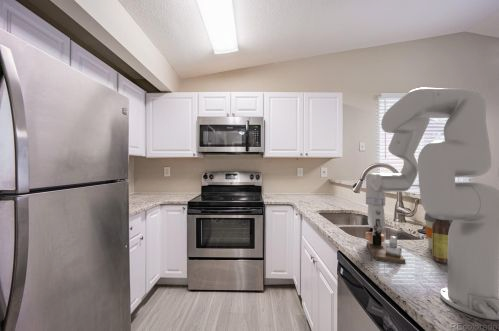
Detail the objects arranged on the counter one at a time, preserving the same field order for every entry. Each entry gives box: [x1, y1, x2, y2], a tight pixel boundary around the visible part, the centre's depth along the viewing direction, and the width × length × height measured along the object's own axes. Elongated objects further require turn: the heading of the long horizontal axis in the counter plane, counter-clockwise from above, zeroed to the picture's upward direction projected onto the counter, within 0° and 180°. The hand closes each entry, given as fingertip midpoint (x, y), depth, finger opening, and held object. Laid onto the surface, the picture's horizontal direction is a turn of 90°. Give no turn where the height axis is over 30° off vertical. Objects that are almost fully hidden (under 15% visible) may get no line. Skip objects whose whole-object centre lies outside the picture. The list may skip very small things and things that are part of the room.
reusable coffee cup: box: [423, 212, 453, 250], centre depth 99 cm, size 13×13×15 cm
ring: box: [365, 231, 385, 243], centre depth 100 cm, size 7×7×2 cm
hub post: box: [369, 230, 383, 246], centre depth 100 cm, size 5×5×6 cm
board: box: [366, 240, 406, 264], centre depth 94 cm, size 18×10×2 cm, turn 163°
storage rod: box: [386, 235, 402, 258], centre depth 88 cm, size 5×5×7 cm
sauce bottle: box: [431, 219, 451, 264], centre depth 87 cm, size 7×6×20 cm
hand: (374, 241), depth 100 cm, fingers closed on ring, 7 cm apart
